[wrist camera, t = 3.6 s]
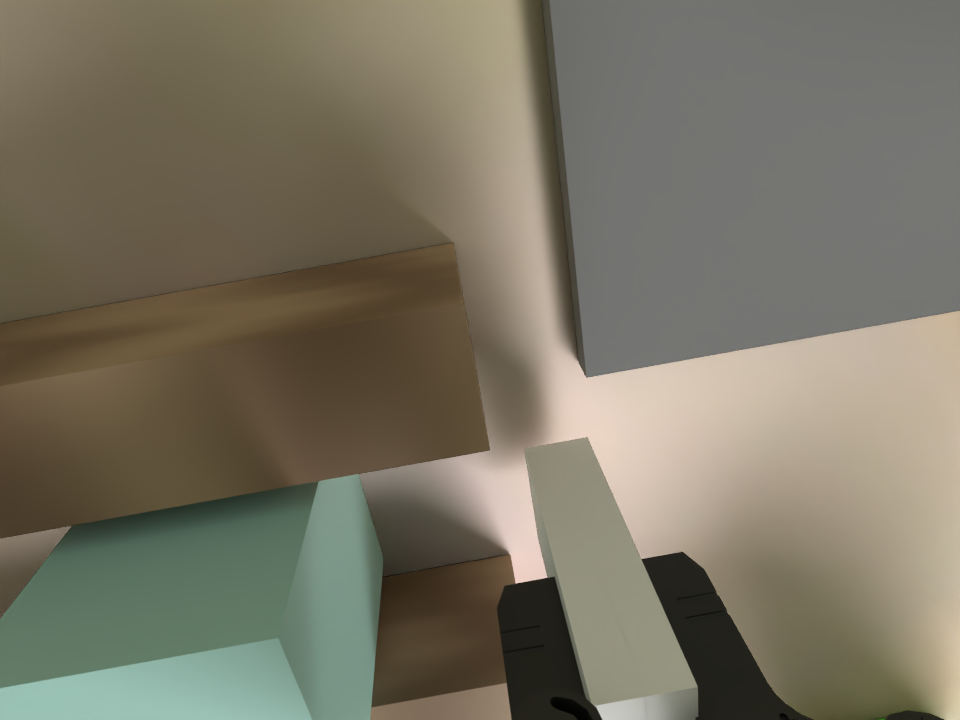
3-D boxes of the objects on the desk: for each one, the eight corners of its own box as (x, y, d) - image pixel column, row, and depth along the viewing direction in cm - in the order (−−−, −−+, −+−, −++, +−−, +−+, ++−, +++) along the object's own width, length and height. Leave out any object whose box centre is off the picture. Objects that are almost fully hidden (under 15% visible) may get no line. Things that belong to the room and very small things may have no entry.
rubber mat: (579, 363, 15) (586, 377, 15) (519, -210, 11) (527, -230, 10) (1018, 283, 15) (1048, 294, 15) (1151, -322, 11) (1204, -351, 10)
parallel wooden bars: (-64, 733, 19) (-179, 889, 15) (-350, 386, 14) (-626, 498, 10) (523, 627, 19) (546, 758, 15) (453, 242, 14) (463, 303, 10)
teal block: (208, 590, 18) (84, 884, 11) (138, 440, 15) (-63, 700, 9) (383, 558, 18) (360, 834, 11) (338, 405, 15) (278, 638, 9)
